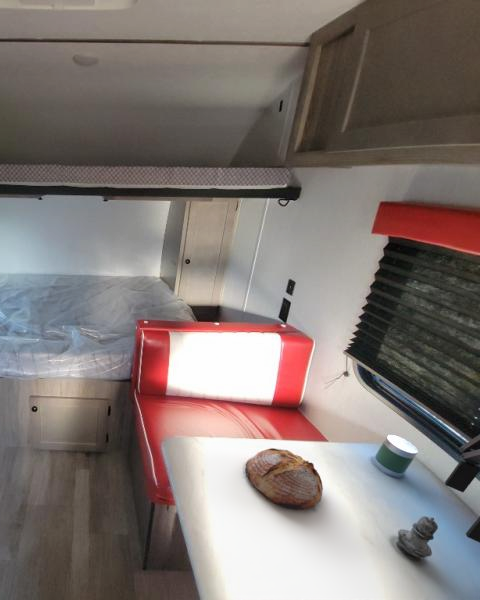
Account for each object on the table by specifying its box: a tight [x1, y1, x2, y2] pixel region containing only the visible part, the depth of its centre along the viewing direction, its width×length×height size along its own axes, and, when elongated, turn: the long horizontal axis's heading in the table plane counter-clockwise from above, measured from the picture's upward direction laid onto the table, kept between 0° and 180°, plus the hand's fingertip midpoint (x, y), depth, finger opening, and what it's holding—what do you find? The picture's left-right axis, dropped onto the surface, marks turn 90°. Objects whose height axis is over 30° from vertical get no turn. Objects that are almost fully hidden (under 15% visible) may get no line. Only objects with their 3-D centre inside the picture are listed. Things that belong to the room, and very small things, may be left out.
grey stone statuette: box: [394, 515, 439, 563], centre depth 76 cm, size 6×6×12 cm
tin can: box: [372, 434, 419, 478], centre depth 100 cm, size 7×7×10 cm
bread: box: [244, 447, 324, 510], centre depth 90 cm, size 16×20×10 cm
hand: (464, 511), depth 65 cm, fingers open, 13 cm apart
